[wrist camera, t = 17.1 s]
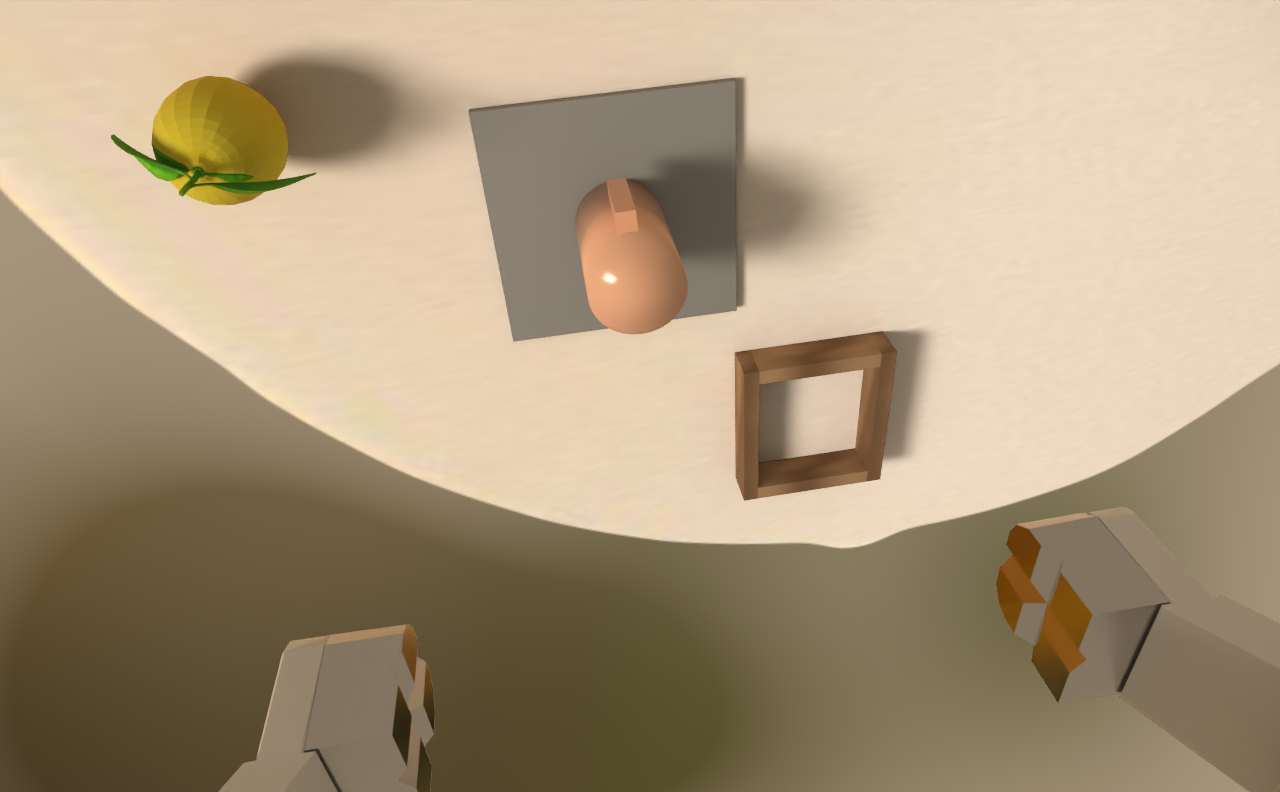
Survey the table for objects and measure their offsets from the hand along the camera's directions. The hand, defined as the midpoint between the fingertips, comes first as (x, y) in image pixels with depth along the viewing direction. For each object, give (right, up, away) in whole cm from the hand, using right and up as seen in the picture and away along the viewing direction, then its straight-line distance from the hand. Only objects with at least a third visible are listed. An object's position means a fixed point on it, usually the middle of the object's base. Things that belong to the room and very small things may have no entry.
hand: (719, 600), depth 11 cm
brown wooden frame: (+11, +2, +47) cm, 48 cm away
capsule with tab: (-2, +13, +36) cm, 38 cm away
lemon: (-21, +17, +30) cm, 41 cm away
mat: (-3, +13, +36) cm, 39 cm away
